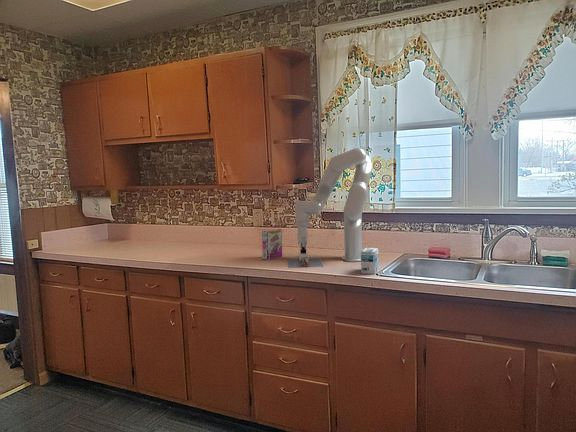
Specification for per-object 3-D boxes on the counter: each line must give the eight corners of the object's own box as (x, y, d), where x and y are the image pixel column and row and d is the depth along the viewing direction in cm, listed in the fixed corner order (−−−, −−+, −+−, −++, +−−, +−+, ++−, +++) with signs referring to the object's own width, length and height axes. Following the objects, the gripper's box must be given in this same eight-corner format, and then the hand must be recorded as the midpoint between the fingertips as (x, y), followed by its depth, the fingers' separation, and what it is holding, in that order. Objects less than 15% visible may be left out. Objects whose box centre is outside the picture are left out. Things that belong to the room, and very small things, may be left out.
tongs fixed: (301, 259, 248) (301, 255, 247) (306, 259, 248) (306, 255, 248) (303, 267, 229) (303, 263, 228) (308, 267, 229) (308, 263, 228)
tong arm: (301, 260, 244) (301, 257, 244) (303, 260, 244) (303, 256, 244) (303, 267, 229) (302, 263, 228) (305, 267, 229) (305, 262, 228)
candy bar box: (268, 260, 250) (266, 231, 249) (262, 259, 254) (261, 230, 252) (283, 257, 258) (282, 229, 256) (277, 256, 262) (276, 228, 260)
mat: (319, 258, 252) (319, 257, 252) (323, 267, 229) (323, 266, 229) (287, 259, 251) (287, 258, 251) (288, 269, 228) (288, 267, 228)
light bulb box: (375, 274, 211) (374, 251, 210) (360, 273, 214) (360, 251, 213) (379, 269, 221) (378, 247, 220) (365, 268, 224) (365, 247, 223)
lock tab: (299, 259, 248) (299, 253, 248) (308, 258, 248) (307, 253, 248) (299, 261, 243) (299, 255, 243) (308, 260, 243) (308, 255, 243)
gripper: (295, 222, 255) (296, 254, 257) (296, 225, 240) (297, 259, 242) (308, 221, 255) (309, 253, 257) (310, 225, 241) (311, 259, 243)
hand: (303, 256), depth 250 cm, fingers closed
